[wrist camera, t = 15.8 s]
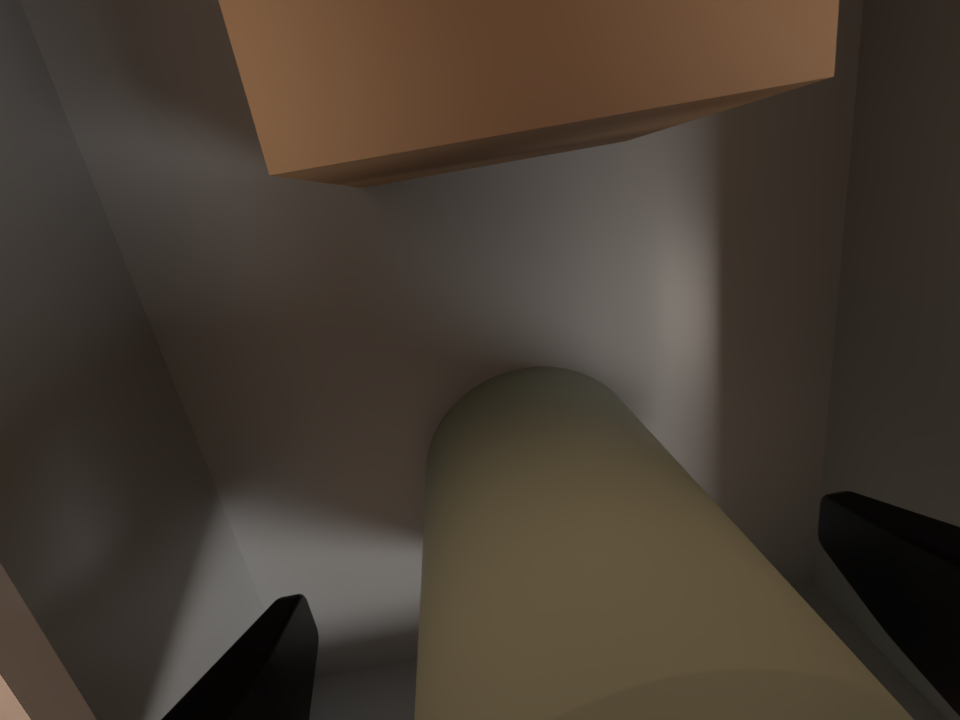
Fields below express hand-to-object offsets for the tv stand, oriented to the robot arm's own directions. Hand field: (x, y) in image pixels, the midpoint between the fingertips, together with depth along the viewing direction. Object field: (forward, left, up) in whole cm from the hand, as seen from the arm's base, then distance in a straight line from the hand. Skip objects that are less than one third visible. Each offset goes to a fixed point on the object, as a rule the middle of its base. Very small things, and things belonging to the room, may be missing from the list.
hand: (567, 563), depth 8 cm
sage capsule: (0, 0, -3) cm, 3 cm away
